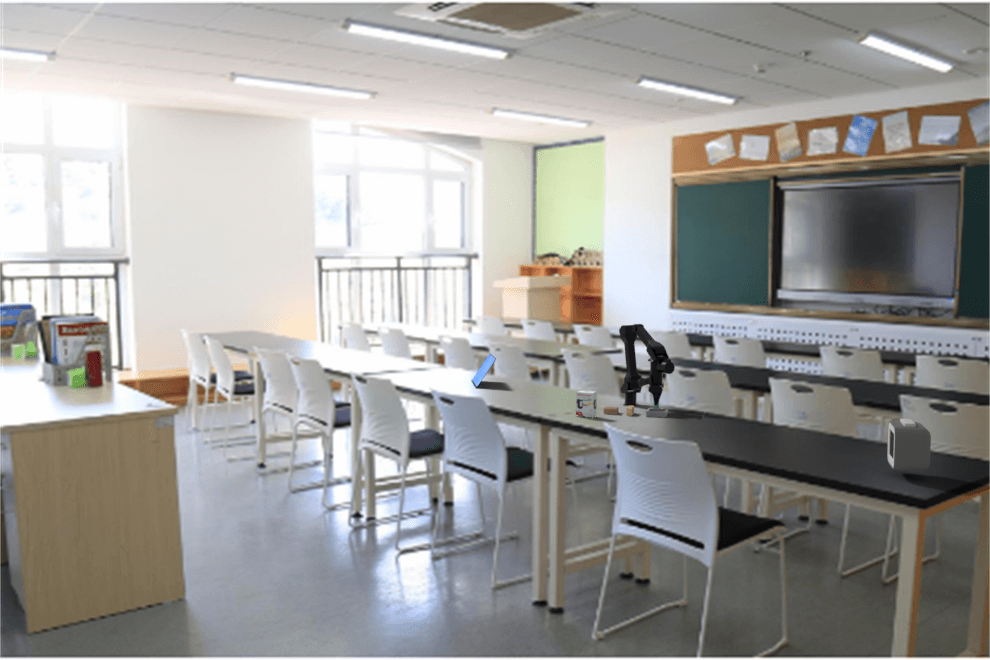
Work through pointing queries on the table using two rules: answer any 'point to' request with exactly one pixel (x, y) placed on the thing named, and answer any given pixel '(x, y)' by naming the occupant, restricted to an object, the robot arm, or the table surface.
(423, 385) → the table surface
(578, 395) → the ink box
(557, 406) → the table surface
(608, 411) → the walnut block
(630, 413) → the block
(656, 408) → the dowel
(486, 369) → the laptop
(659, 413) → the tray
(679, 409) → the table surface
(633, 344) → the robot arm
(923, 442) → the alarm clock
